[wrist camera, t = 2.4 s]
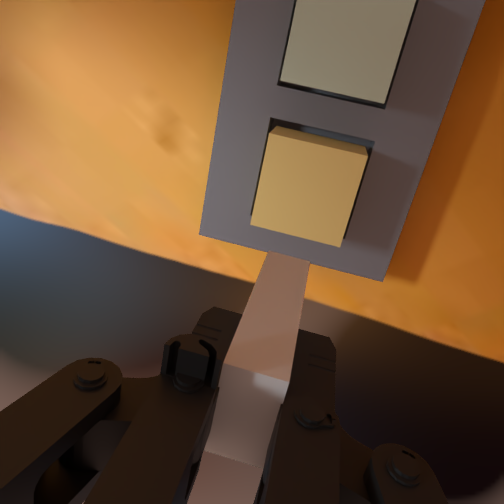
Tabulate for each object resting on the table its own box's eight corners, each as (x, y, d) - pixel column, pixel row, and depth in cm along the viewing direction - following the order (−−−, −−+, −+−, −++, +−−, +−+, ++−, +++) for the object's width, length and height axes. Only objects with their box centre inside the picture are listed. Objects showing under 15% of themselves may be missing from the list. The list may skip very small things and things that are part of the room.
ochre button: (259, 208, 32) (250, 224, 29) (276, 125, 30) (269, 133, 27) (340, 229, 32) (339, 247, 29) (365, 146, 29) (368, 156, 26)
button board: (207, 223, 36) (198, 234, 33) (294, -300, 23) (289, -339, 21) (379, 267, 35) (382, 281, 32) (567, -260, 22) (593, -297, 20)
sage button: (286, 78, 29) (280, 80, 25) (309, -29, 26) (305, -42, 23) (379, 99, 28) (384, 103, 25) (411, -9, 26) (421, -19, 22)
